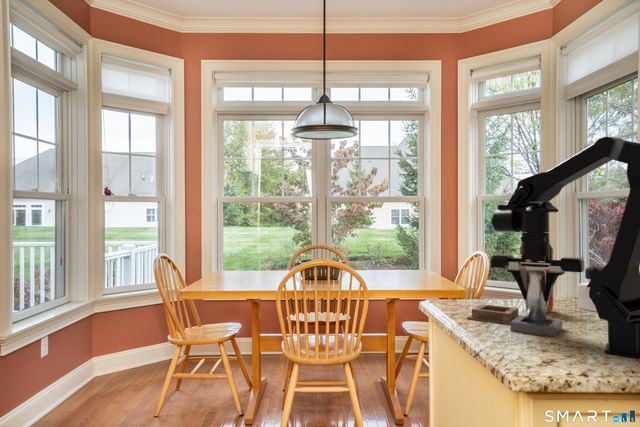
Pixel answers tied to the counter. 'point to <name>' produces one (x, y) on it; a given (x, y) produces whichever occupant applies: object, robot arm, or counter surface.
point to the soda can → (550, 302)
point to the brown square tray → (494, 314)
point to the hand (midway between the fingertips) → (536, 300)
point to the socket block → (537, 326)
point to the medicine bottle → (586, 292)
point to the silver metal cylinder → (535, 294)
